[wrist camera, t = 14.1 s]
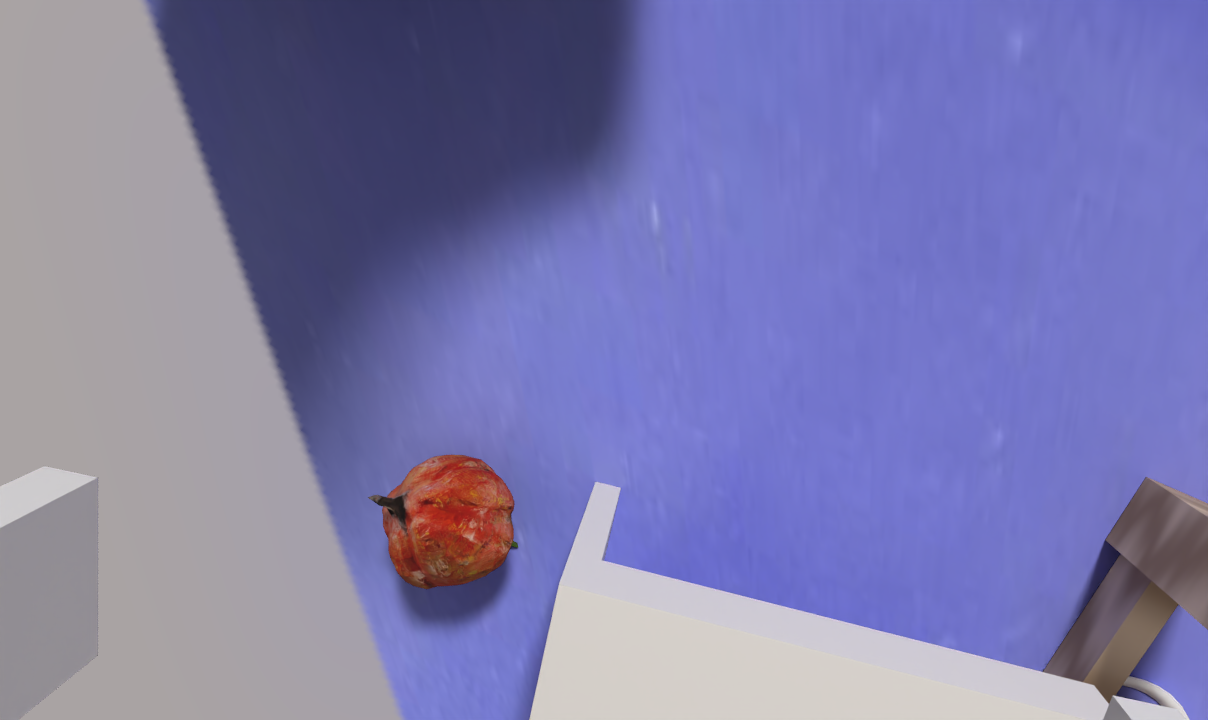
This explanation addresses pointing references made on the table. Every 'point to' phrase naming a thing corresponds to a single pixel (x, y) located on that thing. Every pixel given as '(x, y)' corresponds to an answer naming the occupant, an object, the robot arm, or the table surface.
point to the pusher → (1140, 588)
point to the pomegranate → (448, 522)
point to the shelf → (756, 656)
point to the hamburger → (1155, 693)
